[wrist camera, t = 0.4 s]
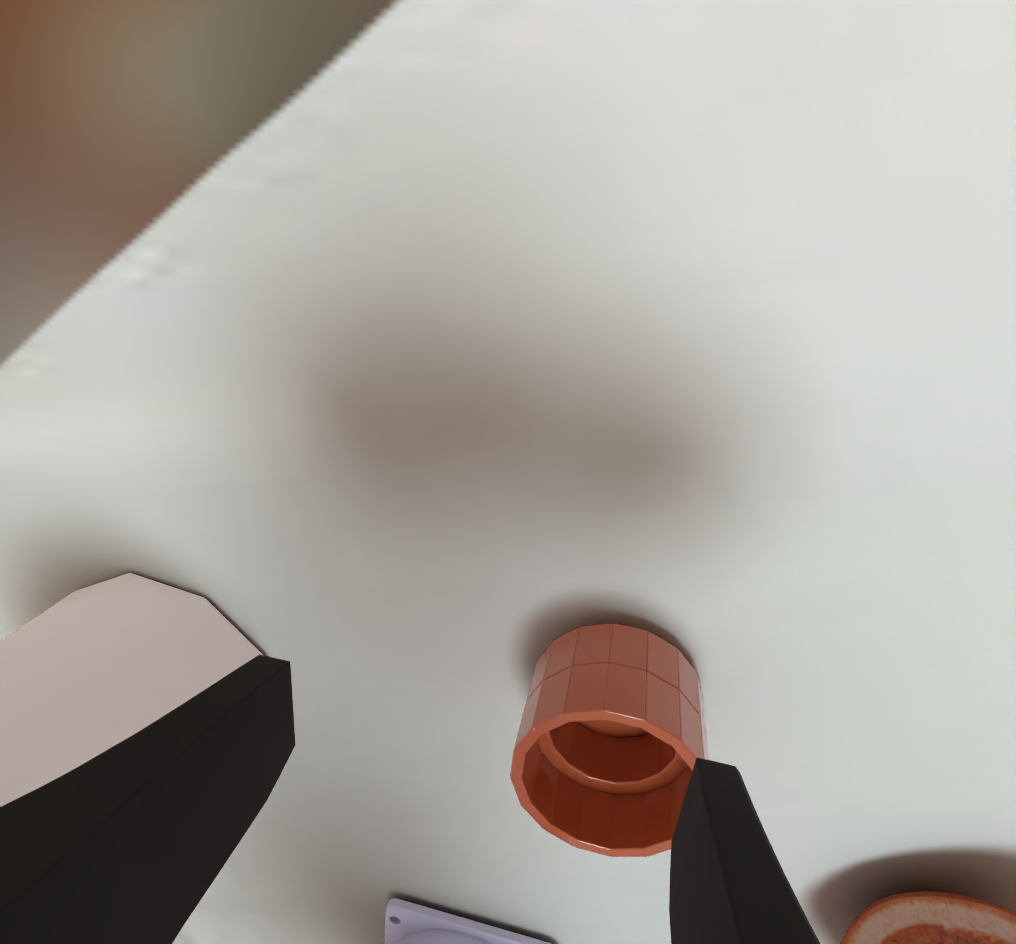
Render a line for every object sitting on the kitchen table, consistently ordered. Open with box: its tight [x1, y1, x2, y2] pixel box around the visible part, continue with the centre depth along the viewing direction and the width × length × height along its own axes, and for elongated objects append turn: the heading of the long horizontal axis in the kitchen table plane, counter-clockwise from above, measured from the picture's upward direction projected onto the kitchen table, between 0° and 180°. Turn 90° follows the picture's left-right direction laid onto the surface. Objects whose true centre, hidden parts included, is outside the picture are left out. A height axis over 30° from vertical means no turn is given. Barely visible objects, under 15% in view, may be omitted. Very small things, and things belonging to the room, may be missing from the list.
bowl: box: [510, 623, 709, 857], centre depth 20 cm, size 6×6×4 cm
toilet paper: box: [0, 573, 264, 807], centre depth 21 cm, size 10×10×12 cm
